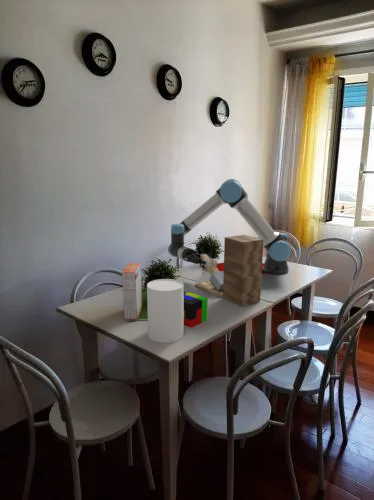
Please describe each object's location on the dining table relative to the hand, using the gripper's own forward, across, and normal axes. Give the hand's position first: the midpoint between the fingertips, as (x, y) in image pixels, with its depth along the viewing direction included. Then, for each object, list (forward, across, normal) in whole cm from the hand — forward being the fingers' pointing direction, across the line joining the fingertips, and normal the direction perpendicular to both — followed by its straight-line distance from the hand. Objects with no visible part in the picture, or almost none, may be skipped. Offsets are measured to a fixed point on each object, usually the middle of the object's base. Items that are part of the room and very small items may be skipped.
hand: (213, 263), depth 194 cm
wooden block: (+22, 0, -13) cm, 25 cm away
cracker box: (+7, +50, -13) cm, 52 cm away
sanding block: (-1, 0, -6) cm, 6 cm away
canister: (+32, +49, -13) cm, 60 cm away
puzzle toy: (+27, +34, -13) cm, 45 cm away
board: (+4, 0, -13) cm, 13 cm away
